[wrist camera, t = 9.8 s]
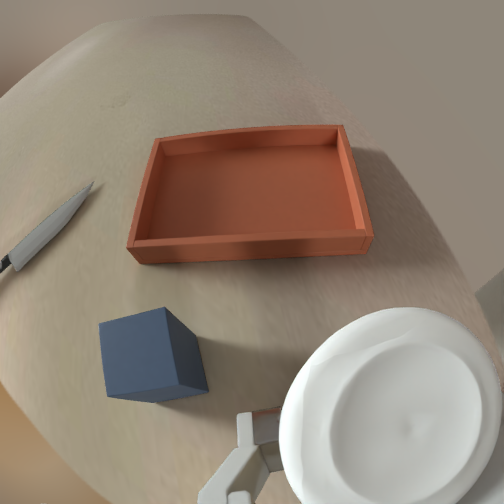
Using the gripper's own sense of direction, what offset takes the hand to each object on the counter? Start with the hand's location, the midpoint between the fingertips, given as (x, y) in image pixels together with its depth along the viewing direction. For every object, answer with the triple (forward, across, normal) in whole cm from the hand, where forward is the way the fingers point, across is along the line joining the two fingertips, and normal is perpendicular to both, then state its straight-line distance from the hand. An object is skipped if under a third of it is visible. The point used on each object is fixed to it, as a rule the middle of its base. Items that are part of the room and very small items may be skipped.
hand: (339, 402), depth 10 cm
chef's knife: (+18, +23, -6) cm, 30 cm away
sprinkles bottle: (+5, 0, +6) cm, 7 cm away
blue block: (+9, +8, +3) cm, 13 cm away
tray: (+18, +1, -6) cm, 19 cm away
